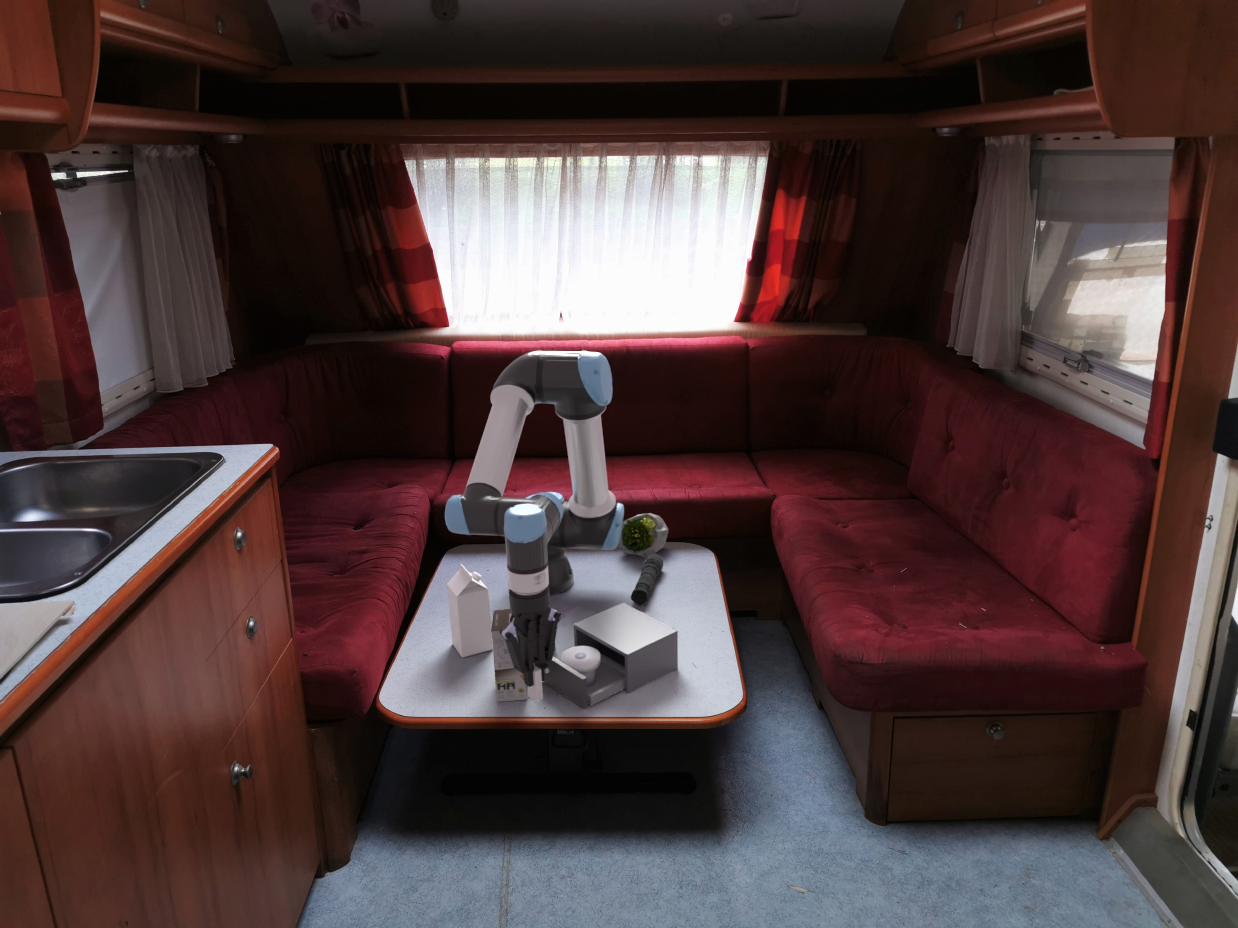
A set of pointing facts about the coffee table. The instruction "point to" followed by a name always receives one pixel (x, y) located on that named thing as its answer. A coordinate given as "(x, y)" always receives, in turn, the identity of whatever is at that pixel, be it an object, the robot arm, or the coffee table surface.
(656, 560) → the flashlight
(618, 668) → the drawer
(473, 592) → the milk carton
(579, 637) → the housing
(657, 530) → the potted plant
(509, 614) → the coffee box
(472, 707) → the coffee table surface
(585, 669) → the disc
